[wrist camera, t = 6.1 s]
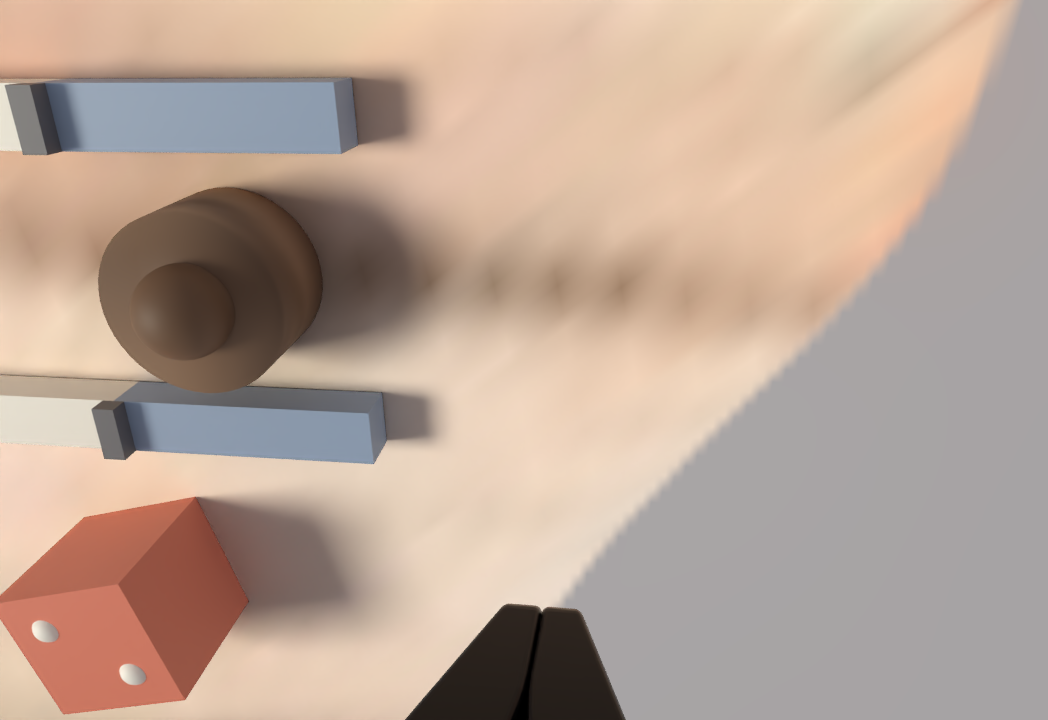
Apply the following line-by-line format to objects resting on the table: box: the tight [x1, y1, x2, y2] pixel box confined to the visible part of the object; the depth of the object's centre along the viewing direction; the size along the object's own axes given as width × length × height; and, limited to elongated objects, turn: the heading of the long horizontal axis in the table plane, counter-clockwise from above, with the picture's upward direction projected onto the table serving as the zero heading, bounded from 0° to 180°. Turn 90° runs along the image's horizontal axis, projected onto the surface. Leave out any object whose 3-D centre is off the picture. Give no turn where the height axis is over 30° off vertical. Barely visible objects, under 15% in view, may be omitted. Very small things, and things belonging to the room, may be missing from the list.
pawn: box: [98, 188, 322, 393], centre depth 19 cm, size 4×4×4 cm
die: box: [0, 497, 249, 714], centre depth 23 cm, size 4×4×4 cm
